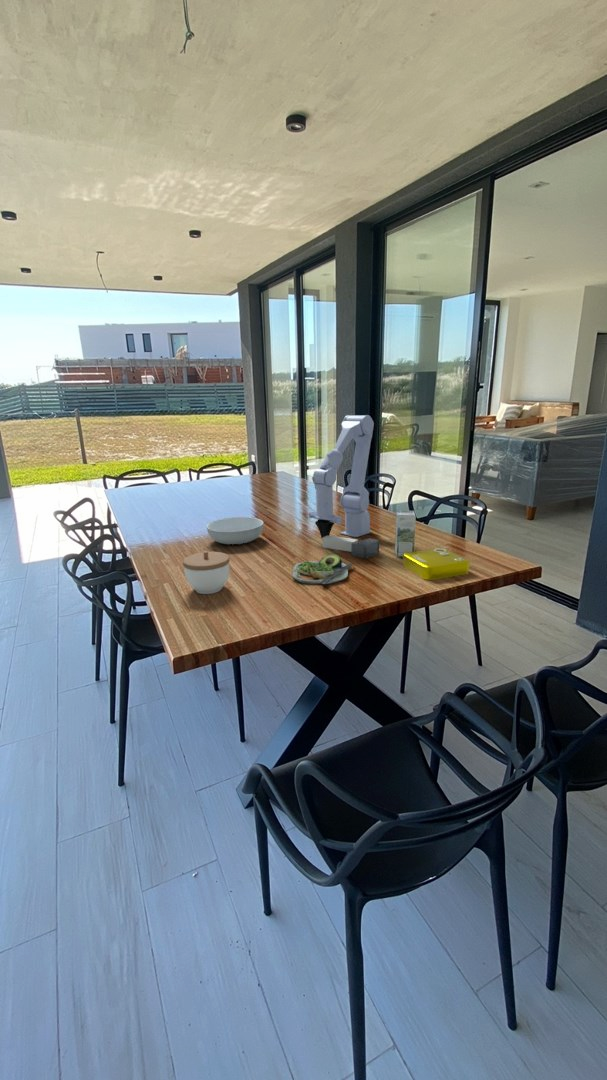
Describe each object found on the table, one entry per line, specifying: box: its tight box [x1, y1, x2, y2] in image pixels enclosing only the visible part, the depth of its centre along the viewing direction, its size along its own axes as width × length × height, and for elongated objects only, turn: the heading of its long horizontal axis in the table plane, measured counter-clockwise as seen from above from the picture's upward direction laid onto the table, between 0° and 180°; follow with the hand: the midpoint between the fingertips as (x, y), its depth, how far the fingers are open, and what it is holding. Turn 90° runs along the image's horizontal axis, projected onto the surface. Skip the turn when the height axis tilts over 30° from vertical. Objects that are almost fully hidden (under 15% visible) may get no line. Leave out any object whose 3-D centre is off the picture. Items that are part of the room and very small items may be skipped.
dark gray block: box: [350, 537, 380, 560], centre depth 163 cm, size 7×6×5 cm
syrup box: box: [394, 510, 417, 558], centre depth 160 cm, size 6×6×14 cm
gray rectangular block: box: [321, 534, 359, 553], centre depth 171 cm, size 4×12×4 cm, turn 58°
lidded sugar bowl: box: [182, 550, 230, 595], centre depth 136 cm, size 13×13×11 cm
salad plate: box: [292, 554, 353, 585], centre depth 145 cm, size 19×18×5 cm
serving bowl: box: [206, 516, 264, 546], centre depth 182 cm, size 21×21×7 cm
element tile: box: [402, 547, 470, 581], centre depth 148 cm, size 15×15×5 cm
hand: (325, 540), depth 176 cm, fingers closed
